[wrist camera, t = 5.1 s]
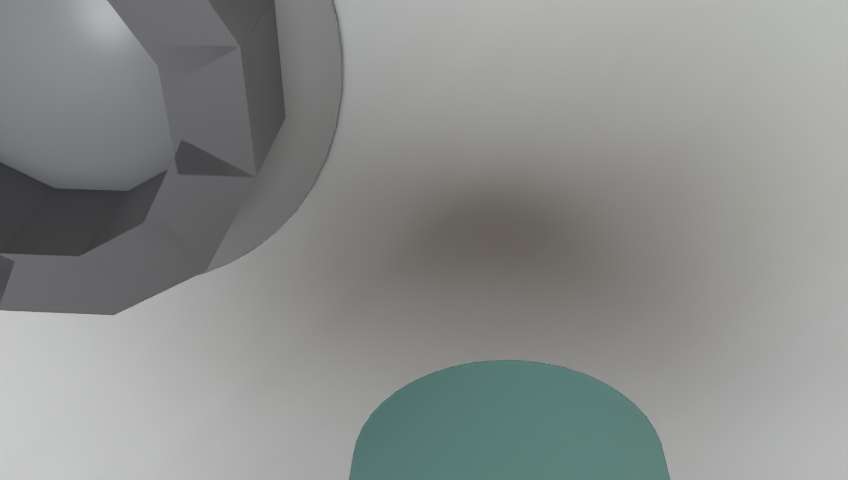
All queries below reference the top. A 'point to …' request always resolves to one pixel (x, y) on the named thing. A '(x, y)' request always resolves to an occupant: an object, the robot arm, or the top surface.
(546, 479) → the teal capped cylinder
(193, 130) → the ring
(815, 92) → the top surface
